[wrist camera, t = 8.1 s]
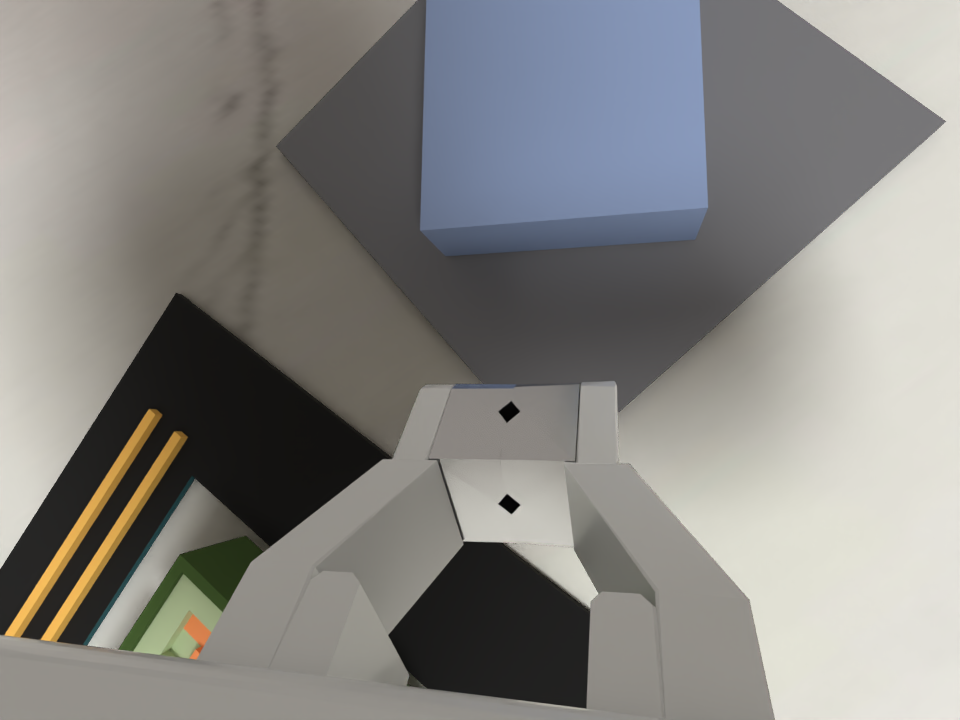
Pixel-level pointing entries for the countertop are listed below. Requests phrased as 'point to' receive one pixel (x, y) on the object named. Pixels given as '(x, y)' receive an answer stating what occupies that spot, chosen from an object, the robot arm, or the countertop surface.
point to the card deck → (562, 124)
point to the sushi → (259, 525)
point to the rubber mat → (629, 267)
